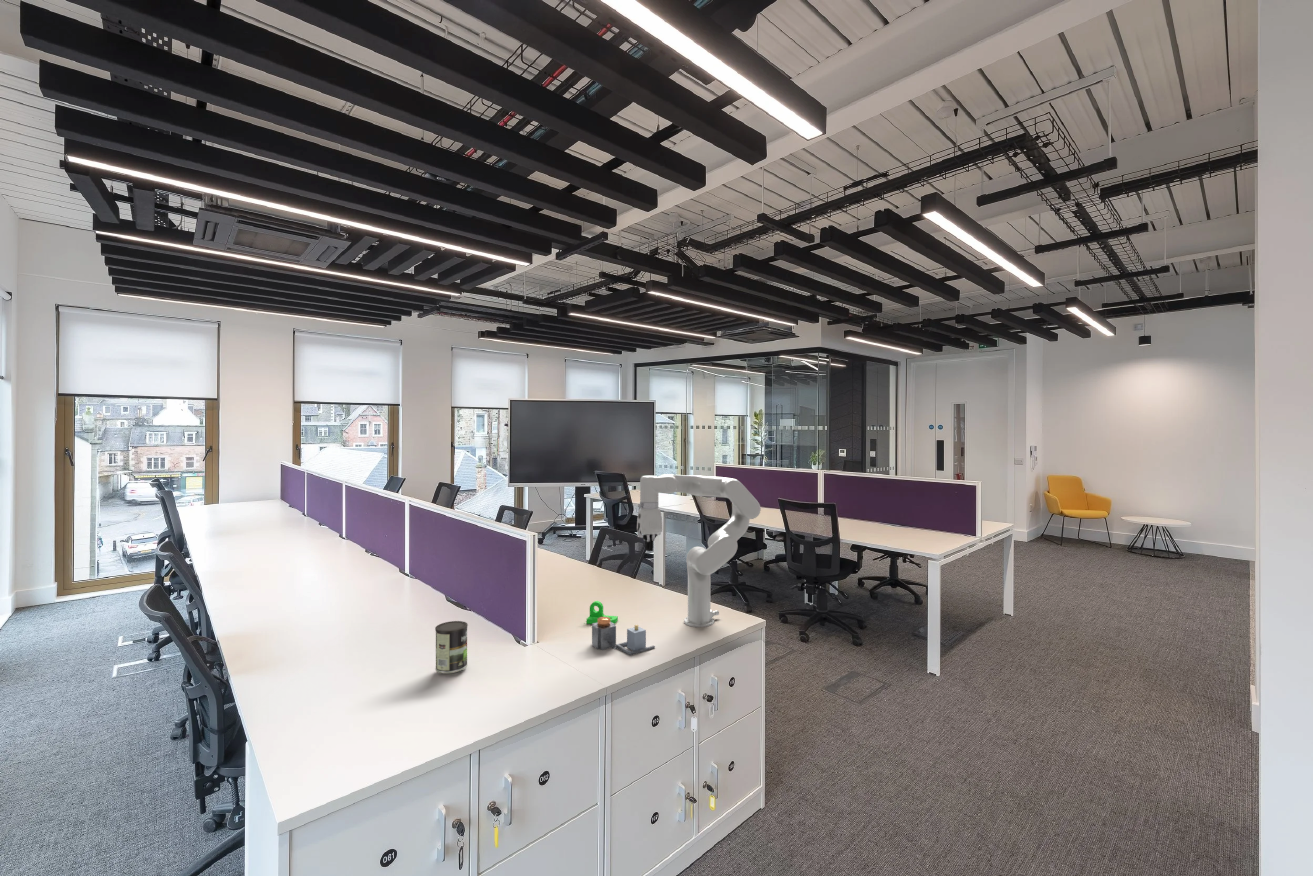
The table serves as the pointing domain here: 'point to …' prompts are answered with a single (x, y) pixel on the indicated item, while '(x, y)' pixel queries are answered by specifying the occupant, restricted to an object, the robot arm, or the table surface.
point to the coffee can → (451, 646)
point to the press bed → (621, 647)
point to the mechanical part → (598, 614)
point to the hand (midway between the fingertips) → (649, 550)
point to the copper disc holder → (603, 636)
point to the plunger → (603, 621)
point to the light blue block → (636, 638)
